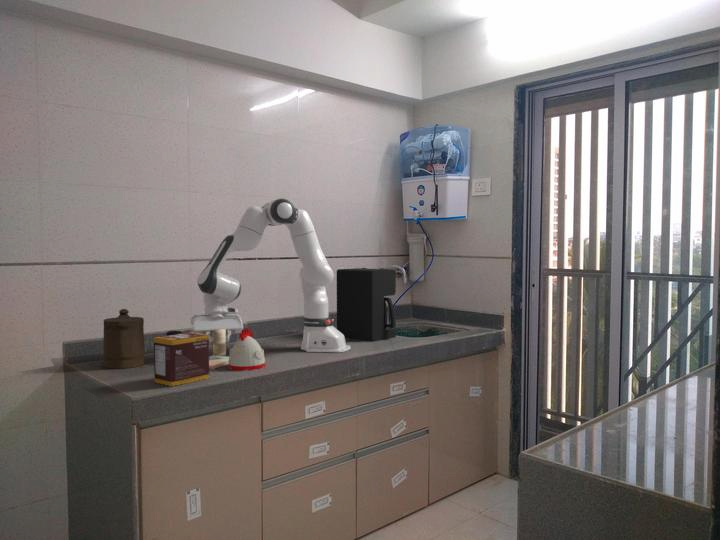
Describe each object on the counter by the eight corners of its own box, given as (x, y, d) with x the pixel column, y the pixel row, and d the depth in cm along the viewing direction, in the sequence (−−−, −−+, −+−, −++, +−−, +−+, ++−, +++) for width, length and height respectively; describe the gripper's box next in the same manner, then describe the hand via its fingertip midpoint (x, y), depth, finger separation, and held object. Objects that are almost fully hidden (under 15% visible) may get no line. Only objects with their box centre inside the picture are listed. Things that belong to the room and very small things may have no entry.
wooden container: (139, 359, 232) (139, 306, 232) (148, 366, 220) (147, 309, 219) (100, 363, 224) (99, 308, 223) (107, 370, 212) (106, 312, 211)
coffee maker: (403, 337, 286) (403, 268, 285) (378, 342, 272) (378, 270, 270) (361, 332, 305) (361, 267, 303) (336, 336, 290) (336, 268, 289)
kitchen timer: (221, 369, 214) (220, 329, 213) (241, 362, 227) (240, 325, 226) (253, 371, 209) (252, 331, 208) (271, 364, 222) (271, 326, 221)
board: (238, 360, 231) (238, 357, 231) (213, 369, 214) (213, 365, 214) (213, 358, 235) (213, 355, 235) (186, 367, 218) (186, 363, 218)
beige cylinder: (228, 353, 230) (227, 329, 229) (221, 356, 225) (221, 331, 225) (217, 353, 231) (217, 328, 231) (210, 355, 227) (210, 330, 226)
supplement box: (210, 378, 199) (209, 334, 198) (171, 387, 186) (170, 340, 186) (192, 374, 205) (191, 331, 204) (153, 382, 193) (153, 337, 192)
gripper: (190, 310, 230) (193, 338, 222) (241, 308, 238) (245, 335, 229) (190, 320, 235) (192, 347, 226) (239, 318, 242) (243, 344, 233)
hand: (219, 341), depth 227 cm, fingers closed on beige cylinder, 5 cm apart
